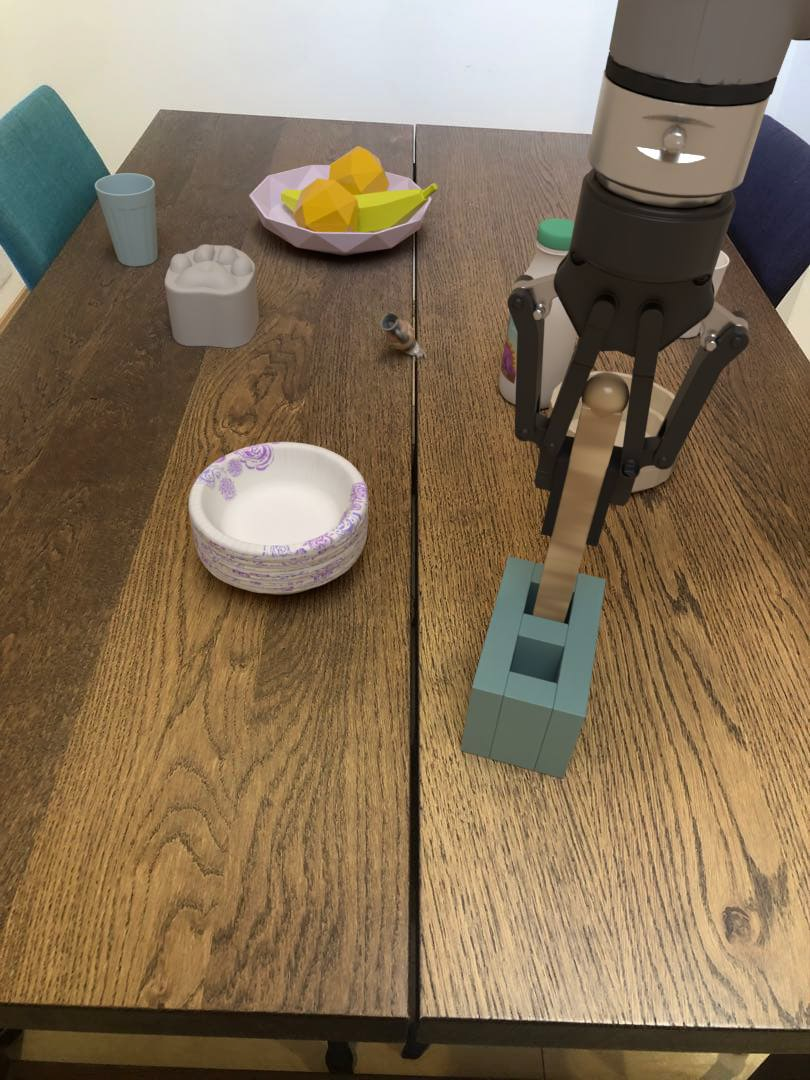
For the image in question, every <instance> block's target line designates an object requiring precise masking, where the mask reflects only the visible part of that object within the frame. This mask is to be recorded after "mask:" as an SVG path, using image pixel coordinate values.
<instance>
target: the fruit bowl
mask: <svg viewBox="0 0 810 1080" xmlns="http://www.w3.org/2000/svg"><path fill="white" fill-rule="evenodd" d="M437 191H439V189H438V184H436V183H434V182H432V183H431V184H430V185H429V186H427V187H425V189H423V188H421V187H420V186H419V185H418V184H416V182H415V181H413V180H412V179H411V178H410V177H407V176H403V175H399V174H395V173H392V172H389V171H385V169H384V166H383V164H382V162H381V160H380V158H379V157H377V156H376V155H375V154H373V153H372V151H371V152H370V151H369V150H368V149H365V148H364V147H362V146H359V145H357V146H355V147H354V148H352V149H350V150H349V151H348V152H346V153H345V154H343V155H341V156H340V157H339V158H337V159H336V160H335V161H333V162H332V163H330V164H310V165H306V166H302V167H298V168H293V169H289V170H286V171H281V172H277V173H272V174H268V175H267V176H266V177H265V178H264V179H263V180H262V181H261V182H259V184H258V186H256V187H255V188H254V189H253V191H252V192H250V194H249V195H248V197H249V199H250V201H251V203H252V205H253V207H254V210H255V211H256V214H257V216H258V218H259V220H260V222H261V225H262V226H263V228H265V229H267V230H268V231H270V232H271V233H273V234H274V235H276V236H278V237H279V238H281V239H282V240H284V241H286V242H287V243H289V244H291V245H292V246H294V247H295V248H299V249H305V250H309V251H314V252H315V251H316V252H320V253H325V254H331V255H337V256H342V257H344V256H351V255H357V254H363V253H369V252H376V251H381V250H383V251H384V250H389V249H393V248H394V247H396V246H397V245H399V244H400V243H401V242H403V241H404V240H405V239H407V238H408V237H410V236H412V235H413V234H415V233H416V232H417V231H419V230H420V229H421V227H422V225H423V222H424V219H425V217H426V215H427V212H428V210H429V207H430V204H431V202H432V199H433V198H432V197H431V196H432V195H433V194H435V192H437Z"/></svg>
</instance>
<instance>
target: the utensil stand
mask: <svg viewBox="0 0 810 1080" xmlns="http://www.w3.org/2000/svg"><path fill="white" fill-rule="evenodd" d="M544 564H545V563H541V562H540V563H539V562H535V561H530V560H527V559H522V558H518V557H514V556H509V555H508V556H507V560H506V563H505V567H504V571H503V573H502V577H501V581H500V585H499V588H498V592H497V595H496V598H495V603H494V606H493V610H492V613H491V616H490V619H489V624H488V628H487V631H486V635H485V639H484V642H483V646H482V649H481V653H480V656H479V660H478V663H477V668H476V670H475V675H474V678H473V682H472V685H471V689H470V695H469V702H468V706H467V712H466V716H465V722H464V727H463V732H462V733H463V734H462V739H461V744H460V748H459V750H460V751H461V752H464V753H467V754H468V753H469V754H470V755H471V754H472V755H475V756H478V757H482V758H486V759H489V760H493V761H497V762H500V763H503V764H507V765H512V766H515V767H518V768H521V769H525V770H529V771H532V772H533V771H534V772H536V773H540V774H543V775H547V776H550V777H554V778H558V779H562V780H563V779H564V778H565V775H566V773H567V770H568V768H569V765H570V761H571V759H572V756H573V754H574V751H575V748H576V745H577V743H578V739H579V736H580V734H581V732H582V728H583V726H584V723H585V720H586V718H587V710H588V706H589V705H588V704H589V697H590V691H591V684H592V678H593V677H592V676H593V671H594V664H595V657H596V650H597V643H598V638H599V637H598V636H599V629H600V623H601V616H602V609H603V603H604V596H605V589H606V582H607V579H606V578H602V577H599V576H594V575H589V574H586V573H582V572H578V575H577V578H576V582H575V586H574V589H573V593H572V596H571V600H570V603H569V607H568V611H567V614H566V618H565V621H564V623H561V622H557V621H553V620H549V619H545V618H540V617H536V616H532V615H533V610H534V606H535V602H536V598H537V594H538V589H539V585H540V581H541V577H542V572H543V568H544Z"/></svg>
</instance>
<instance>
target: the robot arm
mask: <svg viewBox="0 0 810 1080" xmlns="http://www.w3.org/2000/svg"><path fill="white" fill-rule="evenodd" d="M616 4H617V5H616V9H615V15H614V21H613V26H612V31H611V37H610V42H609V47H608V48H609V49H608V50H609V51H608V55H607V58H606V63H605V69H604V70H603V74H602V77H601V78H602V79H601V83H600V89H599V94H598V98H597V99H598V101H597V105H596V110H595V115H594V119H593V124H592V129H591V130H592V131H591V135H590V142H589V147H588V152H587V156H586V158H587V160H588V163H589V165H590V166H591V167H592V168H591V170H589V172H587V173H586V174H585V175H584V176H583V178H582V182H581V187H580V192H579V197H578V202H577V206H576V207H577V208H576V213H575V218H574V222H575V223H574V228H573V233H572V238H571V243H570V248H569V252H568V253H567V255H566V256H565V258H564V259H563V260H562V261H561V262H560V264H559V266H558V268H557V271H556V273H554V274H551V275H547V276H544V277H540V278H537V279H534V278H532V277H531V276H529V275H524V274H521V275H519V276H518V277H517V278H516V279H515V282H514V284H513V286H512V289H511V291H510V293H509V296H508V298H507V303H506V304H507V309H508V310H509V315H510V314H511V316H512V319H513V322H514V325H515V327H516V330H517V365H516V401H515V405H514V436H515V437H516V439H517V440H518V441H521V442H529V441H530V442H532V443H534V444H535V445H536V446H537V447H538V449H539V457H538V462H537V466H536V471H535V477H534V485H535V489H539V490H543V491H549V495H548V500H547V504H546V508H545V514H544V518H543V523H542V527H541V532H540V535H542V536H546V537H550V538H551V537H552V533H553V528H554V524H555V520H556V516H557V512H558V507H559V503H560V499H561V495H562V491H563V487H564V482H565V478H566V474H567V470H568V466H569V461H570V460H569V459H570V455H571V450H572V446H573V442H574V437H571V436H566V434H567V432H568V429H569V427H570V424H571V421H572V419H573V416H574V414H575V411H576V409H577V406H578V403H579V401H580V398H581V396H582V393H583V391H584V388H585V385H586V383H587V380H588V378H589V375H590V372H592V370H593V368H594V366H595V364H596V361H597V358H598V356H599V353H600V352H602V353H603V352H619V353H622V354H624V355H626V356H628V357H631V358H634V360H633V368H632V373H631V375H632V382H631V389H630V397H629V404H628V412H627V419H626V426H625V434H624V441H623V447H619V446H615V445H614V447H613V450H612V454H611V457H610V461H609V464H608V468H607V470H606V474H605V477H604V481H603V484H602V488H601V491H600V495H599V499H598V502H597V506H596V509H595V513H594V517H593V520H592V524H591V527H590V531H589V534H588V538H587V542H586V546H590V547H595V548H597V547H598V545H599V542H600V538H601V536H602V531H603V527H604V524H605V521H606V518H607V514H608V510H609V508H610V505H615V506H620V507H623V508H624V507H625V506H626V505H627V504H628V503H629V500H630V498H631V495H632V493H633V492H632V489H633V486H634V482H635V479H636V477H637V476H638V475H639V473H640V469H641V468H643V467H645V466H655V467H656V468H658V469H662V470H664V469H668V468H670V467H671V466H672V465H673V463H674V461H675V459H676V457H677V455H678V454H679V452H680V450H681V448H682V446H683V447H684V445H685V442H686V440H687V439H688V436H689V435H690V432H691V431H692V428H693V426H694V424H695V423H696V421H697V419H698V417H699V416H700V413H701V412H702V409H703V407H704V406H705V404H706V401H707V399H708V398H709V396H710V394H711V393H712V390H713V389H714V386H715V384H716V383H717V380H718V379H719V377H720V375H721V373H722V372H723V370H724V369H725V368H726V367H727V366H728V365H730V364H731V362H732V361H734V360H735V359H736V358H737V357H738V356H739V355H740V354H741V353H742V352H744V351H745V350H746V348H747V347H748V346H749V343H750V334H749V333H750V332H749V330H750V329H749V317H748V315H747V314H746V313H745V312H743V311H741V310H735V311H730V310H728V309H727V308H725V307H724V306H723V305H721V304H720V303H718V302H717V301H716V299H715V300H714V286H713V282H712V277H713V273H714V270H715V267H716V263H717V260H718V257H719V254H720V251H722V248H723V245H724V241H725V239H726V236H727V232H728V229H729V227H730V223H731V221H732V218H733V215H734V211H735V208H736V205H737V201H736V200H737V199H736V198H735V196H734V193H733V192H734V191H733V190H735V189H736V188H738V187H739V186H740V185H741V184H742V183H744V179H745V176H746V173H747V169H748V167H749V163H750V160H751V157H752V154H753V150H754V148H755V145H756V141H757V138H758V134H759V131H760V130H761V129H760V128H761V125H762V122H763V119H764V116H765V113H766V109H767V107H768V103H769V100H770V97H771V95H773V93H774V90H775V86H776V84H777V81H778V77H779V75H780V71H781V69H782V66H783V64H784V61H785V59H786V56H787V53H788V50H789V48H790V46H791V42H792V41H795V42H796V41H799V42H801V41H803V42H805V41H810V0H617V3H616ZM555 297H558V298H559V300H560V302H561V304H562V306H563V308H564V310H565V312H566V314H567V315H568V317H569V319H570V321H571V323H572V325H573V327H574V329H575V331H576V333H577V337H578V338H577V341H576V343H575V345H574V350H573V354H572V357H571V360H570V363H569V366H568V368H567V371H566V374H565V377H564V380H563V382H562V385H561V388H560V391H559V393H558V396H557V399H556V402H555V404H554V407H553V410H552V413H551V415H550V417H549V418H548V417H547V416H546V415H544V414H542V413H541V409H540V403H541V384H542V364H543V345H544V325H545V318H546V317H547V316H548V315H549V313H550V310H551V307H552V300H553V299H554V298H555ZM699 322H702V323H703V327H702V328H701V330H700V333H699V347H698V348H697V350H696V352H695V354H694V356H693V358H692V361H691V363H690V365H689V367H688V369H687V371H686V373H685V375H684V378H682V381H681V383H680V386H679V387H678V390H677V392H676V394H675V398H674V400H673V402H672V404H671V406H670V408H669V410H668V412H667V414H666V416H665V418H664V420H663V422H662V424H661V426H660V429H659V431H658V433H657V435H656V436H654V437H645V434H646V427H647V421H648V415H649V408H650V402H651V395H652V389H653V382H654V381H655V377H656V376H655V375H656V371H657V363H658V358H659V353H660V352H661V351H663V350H665V349H666V348H667V347H669V346H670V345H672V344H673V343H674V342H676V341H677V340H678V339H680V338H679V337H681V336H682V335H683V334H685V333H686V332H687V331H689V330H690V329H691V328H693V327H694V326H695V325H697V324H698V323H699ZM654 383H655V382H654ZM683 444H684V445H683ZM682 449H683V448H682ZM681 451H682V450H681Z"/></svg>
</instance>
